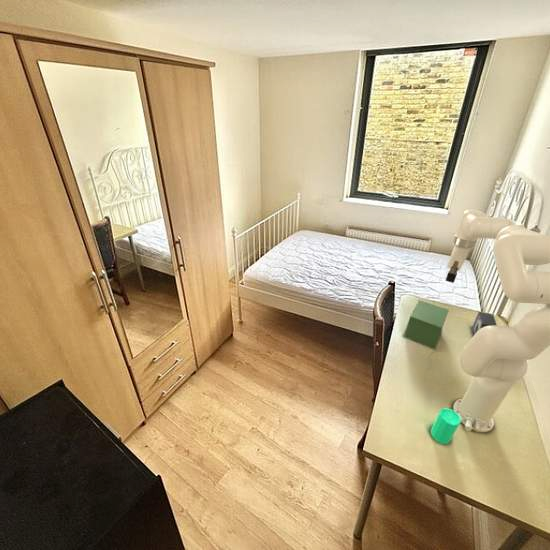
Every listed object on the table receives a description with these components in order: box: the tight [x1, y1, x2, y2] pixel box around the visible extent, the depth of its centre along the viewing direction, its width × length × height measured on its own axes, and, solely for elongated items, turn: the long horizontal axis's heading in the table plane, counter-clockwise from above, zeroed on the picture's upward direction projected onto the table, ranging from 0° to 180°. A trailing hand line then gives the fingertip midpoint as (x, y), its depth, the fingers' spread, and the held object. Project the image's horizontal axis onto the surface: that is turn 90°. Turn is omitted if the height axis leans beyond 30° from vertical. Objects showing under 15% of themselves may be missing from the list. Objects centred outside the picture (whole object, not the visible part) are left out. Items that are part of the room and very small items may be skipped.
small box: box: [471, 311, 498, 336], centre depth 140 cm, size 11×6×10 cm, turn 157°
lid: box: [409, 299, 449, 330], centre depth 137 cm, size 16×14×1 cm
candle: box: [430, 407, 462, 445], centre depth 96 cm, size 6×6×12 cm
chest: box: [403, 317, 443, 350], centre depth 140 cm, size 16×14×12 cm
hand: (449, 281), depth 125 cm, fingers closed
